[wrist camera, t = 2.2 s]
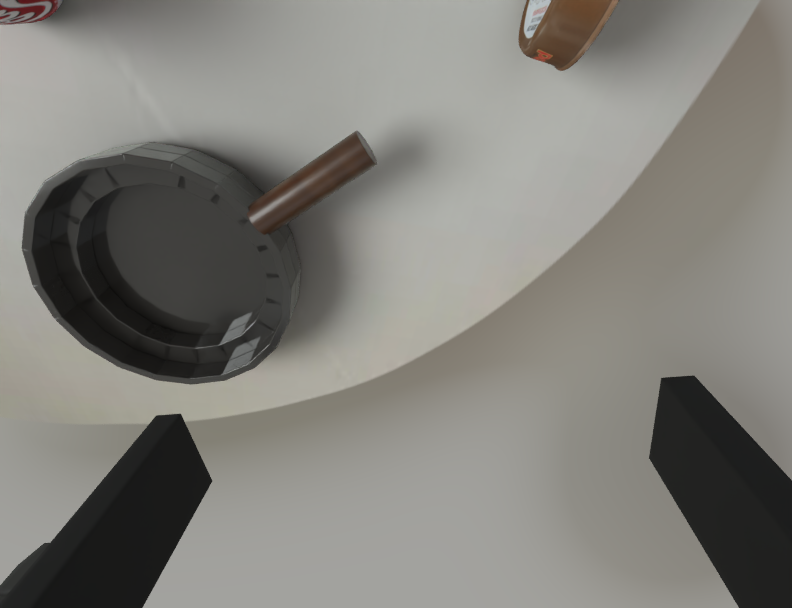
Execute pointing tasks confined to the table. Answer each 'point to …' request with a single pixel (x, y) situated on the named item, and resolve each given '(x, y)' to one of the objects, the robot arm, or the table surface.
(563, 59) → the tin
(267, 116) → the table surface
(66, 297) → the black frying pan
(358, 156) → the handle
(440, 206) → the table surface
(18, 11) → the soda can
